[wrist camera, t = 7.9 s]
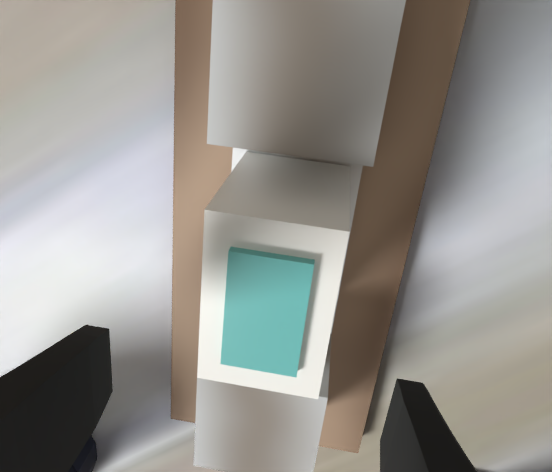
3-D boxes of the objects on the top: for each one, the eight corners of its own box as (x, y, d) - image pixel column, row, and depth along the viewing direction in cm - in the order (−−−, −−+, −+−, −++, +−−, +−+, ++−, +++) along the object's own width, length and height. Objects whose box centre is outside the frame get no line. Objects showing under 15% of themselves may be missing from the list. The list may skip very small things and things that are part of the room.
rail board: (487, -95, 16) (548, -140, 11) (357, 437, 26) (359, 537, 21) (186, -123, 17) (117, -178, 12) (176, 404, 27) (138, 493, 22)
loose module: (349, 166, 19) (349, 236, 13) (326, 299, 21) (317, 406, 16) (246, 151, 19) (201, 214, 13) (235, 284, 21) (194, 384, 16)
